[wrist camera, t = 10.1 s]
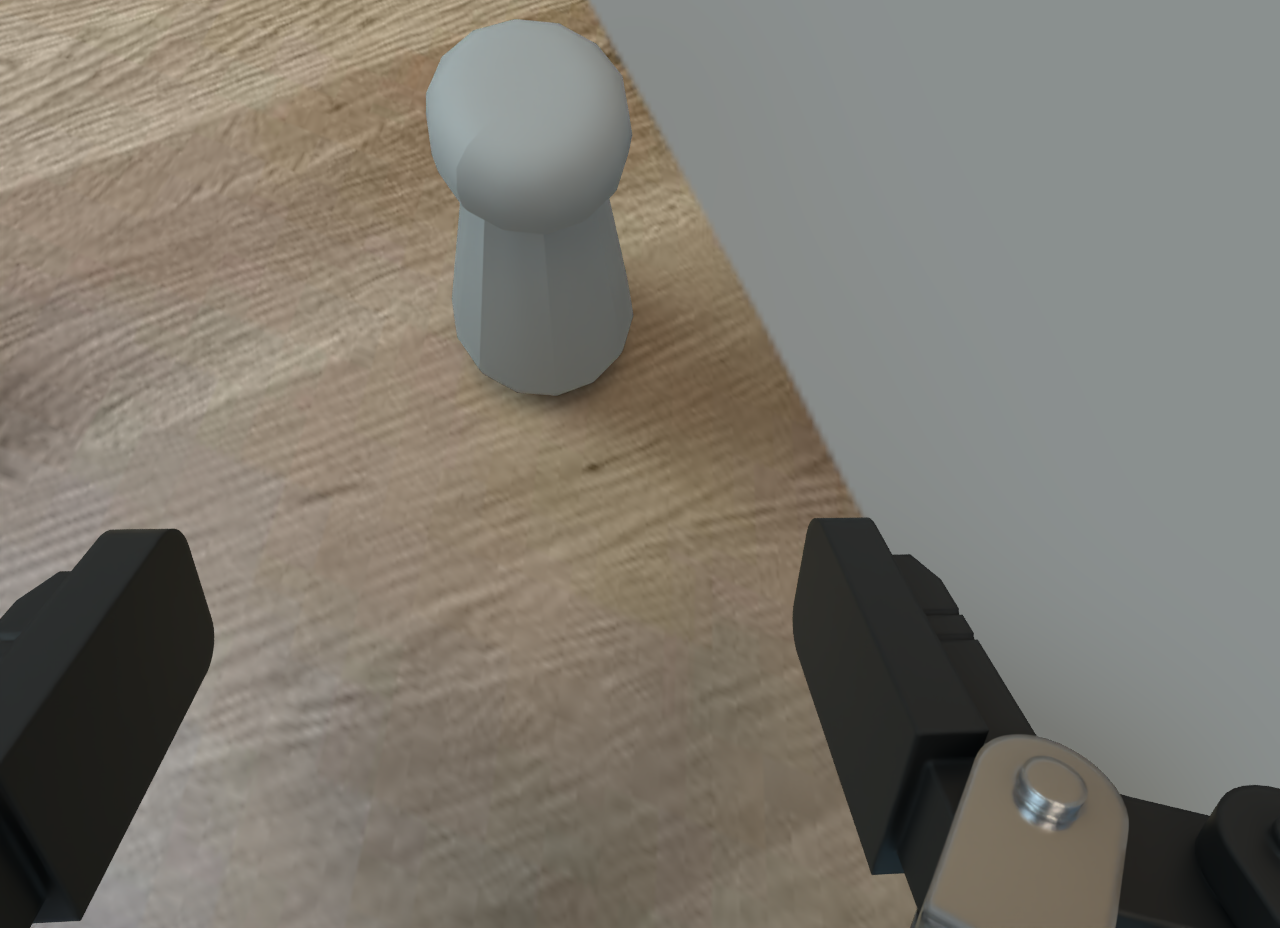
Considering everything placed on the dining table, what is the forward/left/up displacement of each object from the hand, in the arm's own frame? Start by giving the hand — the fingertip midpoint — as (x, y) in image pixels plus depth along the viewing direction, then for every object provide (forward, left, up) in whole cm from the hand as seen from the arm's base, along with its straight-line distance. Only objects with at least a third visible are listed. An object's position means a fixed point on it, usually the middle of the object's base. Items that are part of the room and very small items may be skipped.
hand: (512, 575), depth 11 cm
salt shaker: (0, -10, -16) cm, 19 cm away
